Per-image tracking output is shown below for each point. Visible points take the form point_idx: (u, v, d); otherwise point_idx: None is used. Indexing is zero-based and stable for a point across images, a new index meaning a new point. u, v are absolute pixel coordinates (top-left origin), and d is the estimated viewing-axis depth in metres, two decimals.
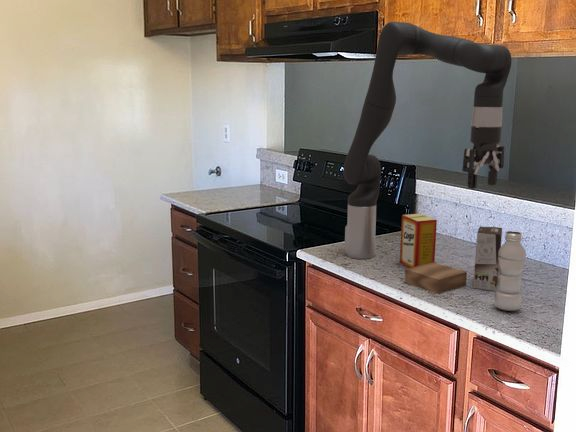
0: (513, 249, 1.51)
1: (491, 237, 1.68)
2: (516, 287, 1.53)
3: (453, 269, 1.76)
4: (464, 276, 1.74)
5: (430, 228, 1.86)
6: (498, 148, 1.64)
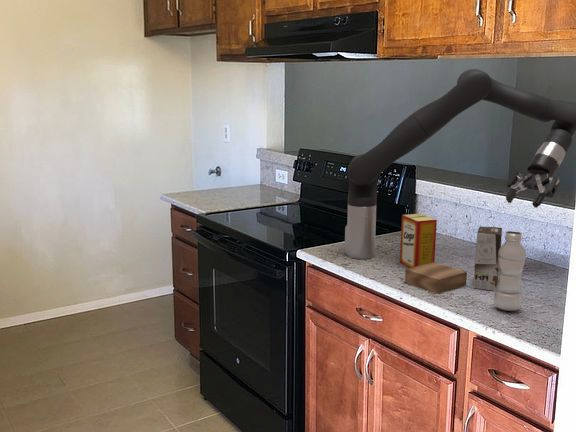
0: (513, 249, 1.51)
1: (491, 237, 1.68)
2: (516, 287, 1.53)
3: (453, 269, 1.76)
4: (464, 276, 1.74)
5: (430, 228, 1.86)
6: None
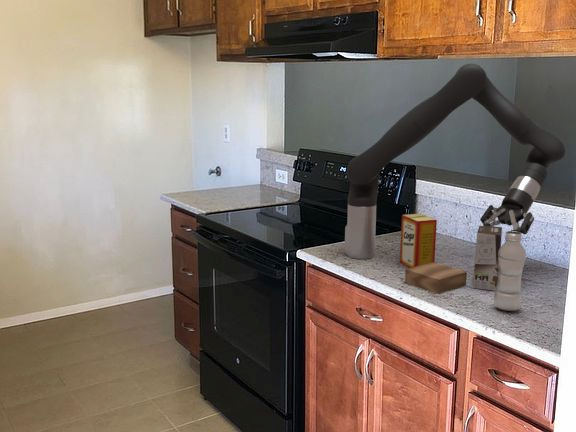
0: (513, 249, 1.51)
1: (491, 237, 1.67)
2: (516, 287, 1.53)
3: (453, 269, 1.76)
4: (464, 276, 1.74)
5: (430, 228, 1.86)
6: None
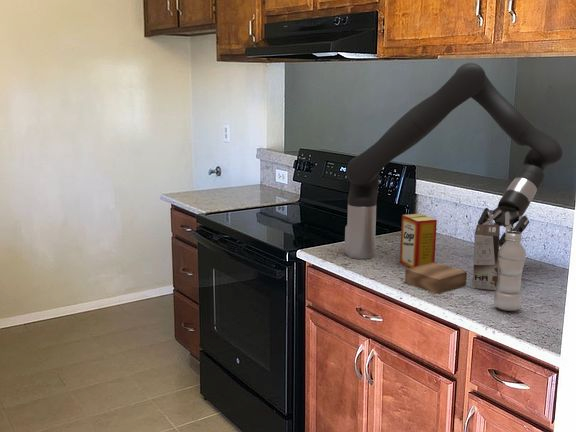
0: (513, 249, 1.51)
1: (488, 239, 1.66)
2: (516, 287, 1.53)
3: (453, 269, 1.76)
4: (464, 276, 1.74)
5: (430, 228, 1.86)
6: None
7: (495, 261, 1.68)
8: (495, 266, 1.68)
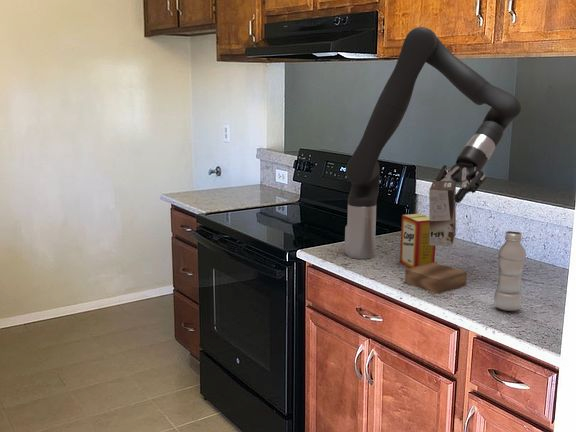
0: (513, 249, 1.51)
1: (443, 193, 1.64)
2: (516, 287, 1.53)
3: (453, 269, 1.76)
4: (464, 276, 1.74)
5: None
6: None
7: (450, 216, 1.65)
8: (451, 222, 1.66)
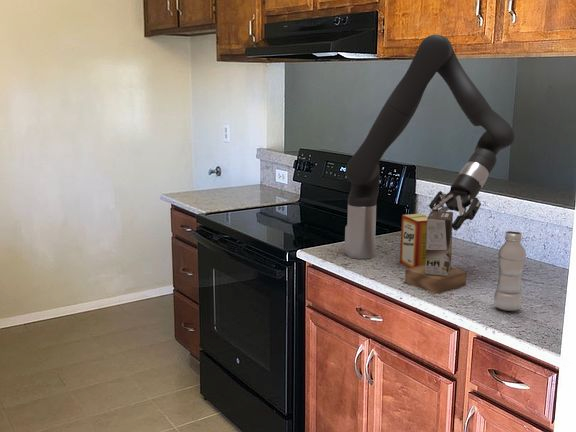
0: (513, 249, 1.51)
1: (440, 223, 1.66)
2: (516, 287, 1.53)
3: (453, 269, 1.76)
4: (464, 276, 1.74)
5: None
6: None
7: (447, 246, 1.67)
8: (447, 251, 1.68)
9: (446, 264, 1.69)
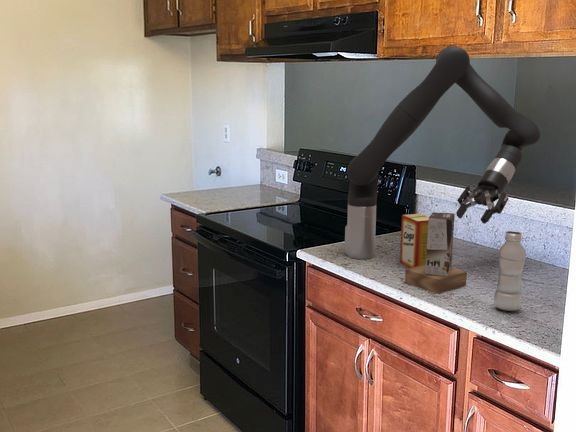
0: (513, 249, 1.51)
1: (442, 222, 1.67)
2: (516, 287, 1.53)
3: (453, 269, 1.76)
4: (464, 276, 1.74)
5: None
6: None
7: (447, 246, 1.68)
8: (447, 251, 1.68)
9: (446, 264, 1.69)
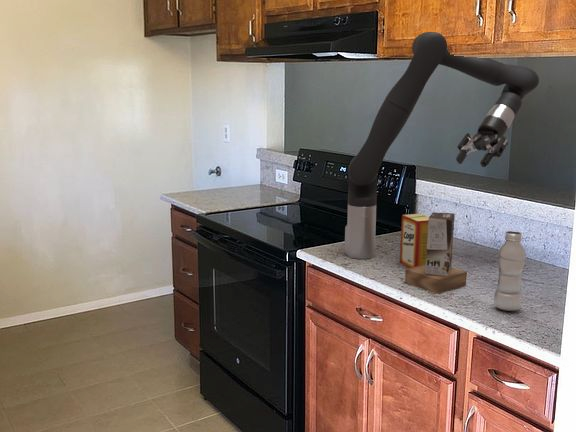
0: (513, 249, 1.51)
1: (442, 222, 1.67)
2: (516, 287, 1.53)
3: (453, 269, 1.76)
4: (464, 276, 1.74)
5: None
6: None
7: (447, 246, 1.68)
8: (447, 251, 1.68)
9: (446, 264, 1.69)
